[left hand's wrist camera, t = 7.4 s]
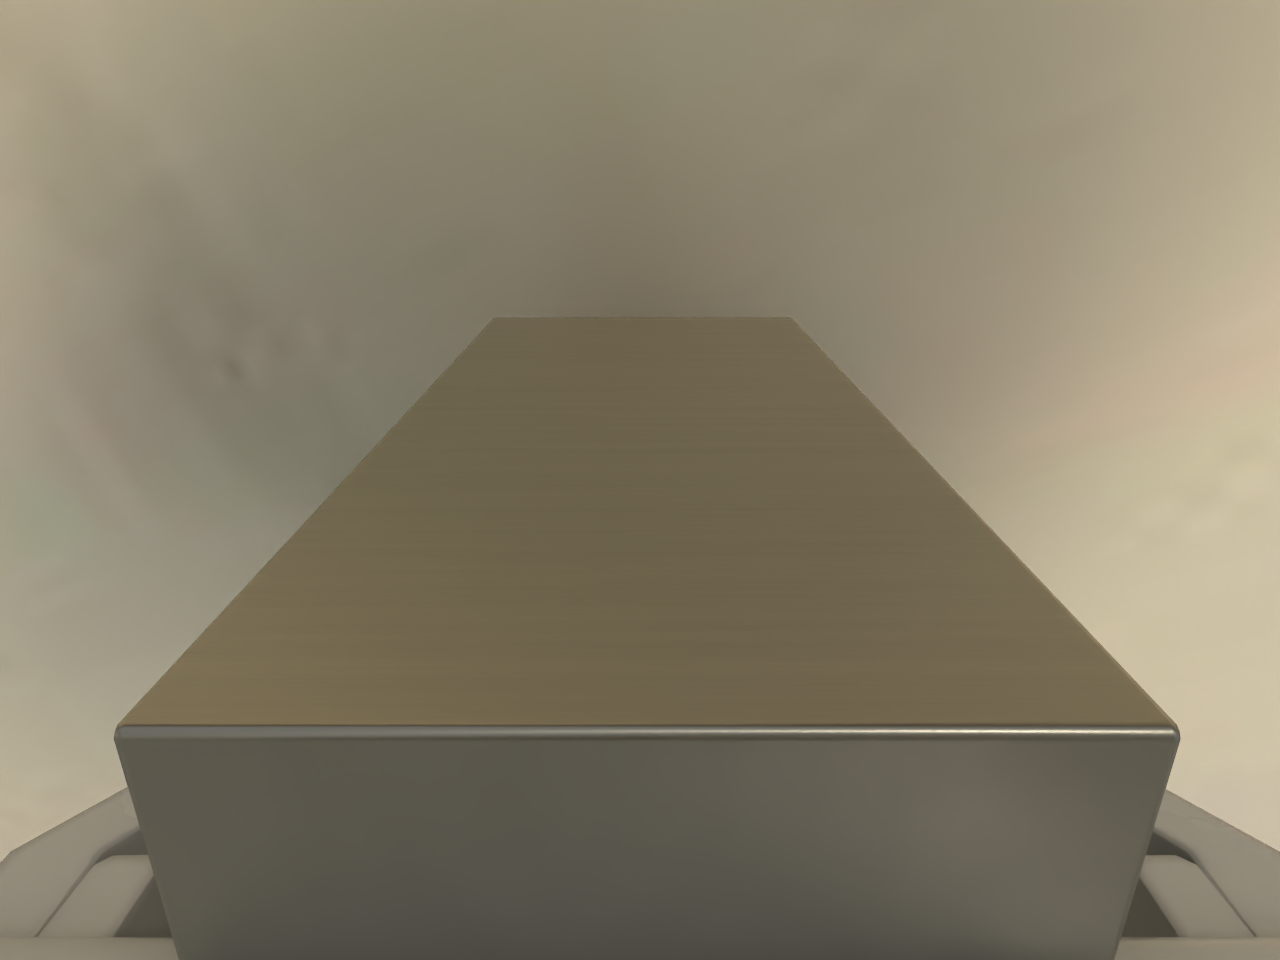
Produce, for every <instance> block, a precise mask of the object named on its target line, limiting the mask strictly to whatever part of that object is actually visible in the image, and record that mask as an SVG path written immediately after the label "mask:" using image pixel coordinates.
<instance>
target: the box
mask: <svg viewBox="0 0 1280 960" xmlns="http://www.w3.org/2000/svg"><path fill="white" fill-rule="evenodd" d="M114 741H115V744H116V748H117V751H118V754H119V758H120V761H121V765H122V768H123V771H124V775H125V778H126V782H127V785H128V788H129V792H130V795H131V799H132V802H133V805H134V809H135V812H136V816H137V819H138V822H139V826H140V829H141V833H142V836H143V839H144V843H145V846H146V850H147V853H148V856H149V860H150V863H151V867H152V870H153V873H154V877H155V880H156V884H157V887H158V890H159V894H160V897H161V901H162V904H163V907H164V911H165V914H166V918H167V921H168V924H169V928H170V931H171V935H172V938H173V941H174V945H175V948H176V952H177V955H178V958H179V960H1114V959H1115V956H1116V952H1117V949H1118V946H1119V942H1120V939H1121V936H1122V932H1123V929H1124V926H1125V922H1126V919H1127V916H1128V912H1129V909H1130V905H1131V902H1132V899H1133V895H1134V892H1135V889H1136V885H1137V882H1138V879H1139V875H1140V872H1141V869H1142V865H1143V862H1144V859H1145V855H1146V852H1147V849H1148V845H1149V842H1150V839H1151V835H1152V832H1153V829H1154V825H1155V822H1156V819H1157V815H1158V812H1159V809H1160V805H1161V802H1162V799H1163V795H1164V792H1165V789H1166V785H1167V782H1168V779H1169V775H1170V772H1171V769H1172V765H1173V762H1174V759H1175V755H1176V752H1177V749H1178V745H1179V742H1180V732H1179V729H1178V727H1177V725H1176V723H1175V722H1174V721H1173V720H1172V719H1171V718H1170V717H1169V716H1168V715H1167V714H1166V713H1165V712H1164V711H1163V710H1162V709H1161V708H1160V707H1159V706H1158V704H1157V703H1156V702H1155V701H1154V700H1153V699H1152V698H1151V697H1150V696H1149V695H1148V694H1147V693H1146V692H1145V691H1144V690H1143V689H1142V688H1141V687H1140V685H1139V684H1138V683H1137V682H1136V681H1135V680H1134V679H1133V678H1132V677H1131V676H1130V675H1129V674H1128V673H1127V672H1126V671H1125V670H1124V669H1123V668H1122V666H1121V665H1120V664H1119V663H1118V662H1117V661H1116V660H1115V659H1114V658H1113V657H1112V656H1111V655H1110V654H1109V653H1108V652H1107V651H1106V650H1105V649H1104V647H1103V646H1102V645H1101V644H1100V643H1099V642H1098V641H1097V640H1096V639H1095V638H1094V637H1093V636H1092V635H1091V634H1090V633H1089V632H1088V631H1087V630H1086V628H1085V627H1084V626H1083V625H1082V624H1081V623H1080V622H1079V621H1078V620H1077V619H1076V618H1075V617H1074V616H1073V615H1072V614H1071V613H1070V612H1069V611H1068V610H1067V608H1066V607H1065V606H1064V605H1063V604H1062V603H1061V602H1060V601H1059V600H1058V599H1057V598H1056V597H1055V596H1054V595H1053V594H1052V593H1051V592H1050V591H1049V589H1048V588H1047V587H1046V586H1045V585H1044V584H1043V583H1042V582H1041V581H1040V580H1039V579H1038V578H1037V577H1036V576H1035V575H1034V574H1033V573H1032V572H1031V570H1030V569H1029V568H1028V567H1027V566H1026V565H1025V564H1024V563H1023V562H1022V561H1021V560H1020V559H1019V558H1018V557H1017V556H1016V555H1015V554H1014V553H1013V551H1012V550H1011V549H1010V548H1009V547H1008V546H1007V545H1006V544H1005V543H1004V542H1003V541H1002V540H1001V539H1000V538H999V537H998V536H997V535H996V534H995V532H994V531H993V530H992V529H991V528H990V527H989V526H988V525H987V524H986V523H985V522H984V521H983V520H982V519H981V518H980V517H979V516H978V515H977V513H976V512H975V511H974V510H973V509H972V508H971V507H970V506H969V505H968V504H967V503H966V502H965V501H964V500H963V499H962V498H961V497H960V496H959V495H958V493H957V492H956V491H955V490H954V489H953V488H952V487H951V486H950V485H949V484H948V483H947V482H946V481H945V480H944V479H943V478H942V477H941V476H940V474H939V473H938V472H937V471H936V470H935V469H934V468H933V467H932V466H931V465H930V464H929V463H928V462H927V461H926V460H925V459H924V458H923V457H922V455H921V454H920V453H919V452H918V451H917V450H916V449H915V448H914V447H913V446H912V445H911V444H910V443H909V442H908V441H907V440H906V439H905V438H904V436H903V435H902V434H901V433H900V432H899V431H898V430H897V429H896V428H895V427H894V426H893V425H892V424H891V423H890V422H889V421H888V420H887V419H886V417H885V416H884V415H883V414H882V413H881V412H880V411H879V410H878V409H877V408H876V407H875V406H874V405H873V404H872V403H871V402H870V401H869V400H868V398H867V397H866V396H865V395H864V394H863V393H862V392H861V391H860V390H859V389H858V388H857V387H856V386H855V385H854V384H853V383H852V382H851V381H850V380H849V378H848V377H847V376H846V375H845V374H844V373H843V372H842V371H841V370H840V369H839V368H838V367H837V366H836V365H835V364H834V363H833V362H832V361H831V359H830V358H829V357H828V356H827V355H826V354H825V353H824V352H823V351H822V350H821V349H820V348H819V347H818V346H817V345H816V344H815V343H814V342H813V340H812V339H811V338H810V337H809V336H808V335H807V334H806V333H805V332H804V331H803V330H802V329H801V328H800V327H799V326H798V325H797V324H796V323H795V321H794V320H793V319H791V318H495V319H493V320H492V321H491V322H490V323H489V324H488V325H487V327H486V328H485V329H484V330H483V331H482V332H481V333H480V334H479V335H478V336H477V337H476V338H475V339H474V341H473V342H472V343H471V344H470V345H469V346H468V347H467V348H466V349H465V350H464V351H463V352H462V354H461V355H460V356H459V357H458V358H457V359H456V360H455V361H454V362H453V363H452V364H451V365H450V366H449V368H448V369H447V370H446V371H445V372H444V373H443V374H442V375H441V376H440V377H439V378H438V379H437V380H436V382H435V383H434V384H433V385H432V386H431V387H430V388H429V389H428V390H427V391H426V392H425V393H424V395H423V396H422V397H421V398H420V399H419V400H418V401H417V402H416V403H415V404H414V405H413V406H412V407H411V409H410V410H409V411H408V412H407V413H406V414H405V415H404V416H403V417H402V418H401V419H400V420H399V422H398V423H397V424H396V425H395V426H394V427H393V428H392V429H391V430H390V431H389V432H388V433H387V434H386V436H385V437H384V438H383V439H382V440H381V441H380V442H379V443H378V444H377V445H376V446H375V447H374V449H373V450H372V451H371V452H370V453H369V454H368V455H367V456H366V457H365V458H364V459H363V460H362V461H361V463H360V464H359V465H358V466H357V467H356V468H355V469H354V470H353V471H352V472H351V473H350V474H349V475H348V477H347V478H346V479H345V480H344V481H343V482H342V483H341V484H340V485H339V486H338V487H337V488H336V490H335V491H334V492H333V493H332V494H331V495H330V496H329V497H328V498H327V499H326V500H325V501H324V502H323V504H322V505H321V506H320V507H319V508H318V509H317V510H316V511H315V512H314V513H313V514H312V515H311V517H310V518H309V519H308V520H307V521H306V522H305V523H304V524H303V525H302V526H301V527H300V528H299V529H298V531H297V532H296V533H295V534H294V535H293V536H292V537H291V538H290V539H289V540H288V541H287V542H286V544H285V545H284V546H283V547H282V548H281V549H280V550H279V551H278V552H277V553H276V554H275V555H274V556H273V558H272V559H271V560H270V561H269V562H268V563H267V564H266V565H265V566H264V567H263V568H262V569H261V570H260V572H259V573H258V574H257V575H256V576H255V577H254V578H253V579H252V580H251V581H250V582H249V583H248V585H247V586H246V587H245V588H244V589H243V590H242V591H241V592H240V593H239V594H238V595H237V596H236V597H235V599H234V600H233V601H232V602H231V603H230V604H229V605H228V606H227V607H226V608H225V609H224V610H223V612H222V613H221V614H220V615H219V616H218V617H217V618H216V619H215V620H214V621H213V622H212V623H211V624H210V626H209V627H208V628H207V629H206V630H205V631H204V632H203V633H202V634H201V635H200V636H199V637H198V639H197V640H196V641H195V642H194V643H193V644H192V645H191V646H190V647H189V648H188V649H187V650H186V651H185V653H184V654H183V655H182V656H181V657H180V658H179V659H178V660H177V661H176V662H175V663H174V664H173V665H172V667H171V668H170V669H169V670H168V671H167V672H166V673H165V674H164V675H163V676H162V677H161V678H160V680H159V681H158V682H157V683H156V684H155V685H154V686H153V687H152V688H151V689H150V690H149V691H148V692H147V694H146V695H145V696H144V697H143V698H142V699H141V700H140V701H139V702H138V703H137V704H136V705H135V707H134V708H133V709H132V710H131V711H130V712H129V713H128V714H127V715H126V716H125V717H124V718H123V719H122V721H121V722H120V723H119V724H118V725H117V728H116V730H115V735H114Z"/></svg>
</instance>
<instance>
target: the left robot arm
mask: <svg viewBox="0 0 1280 960" xmlns="http://www.w3.org/2000/svg"><path fill="white" fill-rule="evenodd" d="M0 960H179V958H178V955H177V952H176V948H175V945H174V941H173V938H172V935H171V931H170V928H169V924H168V921H167V918H166V914H165V911H164V907H163V904H162V901H161V897H160V894H159V890H158V887H157V884H156V880H155V877H154V873H153V870H152V867H151V863H150V860H149V856H148V853H147V850H146V846H145V843H144V839H143V836H142V833H141V829H140V826H139V822H138V819H137V816H136V812H135V809H134V805H133V802H132V799H131V795H130V792H129V788H128V787H127V788H125V789H123V790H121V791H119V792H118V793H116V794H114V795H112V796H110V797H109V798H107V799H105V800H103V801H101V802H100V803H98V804H96V805H94V806H92V807H91V808H89V809H87V810H85V811H83V812H82V813H80V814H78V815H76V816H74V817H72V818H71V819H69V820H67V821H65V822H63V823H62V824H60V825H58V826H56V827H54V828H53V829H51V830H49V831H47V832H45V833H44V834H42V835H40V836H38V837H36V838H34V839H33V840H31V841H29V842H27V843H25V844H24V845H22V846H20V847H18V848H16V849H15V850H13V851H11V852H10V853H9V854H8V855H7V856H6V857H5V859H4V860H3V861H2V862H1V863H0ZM1114 960H1280V852H1279V851H1277V850H1275V849H1274V848H1272V847H1270V846H1268V845H1266V844H1265V843H1263V842H1261V841H1259V840H1257V839H1255V838H1254V837H1252V836H1250V835H1248V834H1246V833H1245V832H1243V831H1241V830H1239V829H1237V828H1235V827H1234V826H1232V825H1230V824H1228V823H1226V822H1224V821H1223V820H1221V819H1219V818H1217V817H1215V816H1214V815H1212V814H1210V813H1208V812H1206V811H1204V810H1203V809H1201V808H1199V807H1197V806H1195V805H1194V804H1192V803H1190V802H1188V801H1186V800H1184V799H1183V798H1181V797H1179V796H1177V795H1175V794H1174V793H1172V792H1170V791H1168V790H1166V789H1165V792H1164V795H1163V799H1162V802H1161V805H1160V809H1159V812H1158V815H1157V819H1156V822H1155V825H1154V829H1153V832H1152V835H1151V839H1150V842H1149V845H1148V849H1147V852H1146V855H1145V859H1144V862H1143V865H1142V869H1141V872H1140V875H1139V879H1138V882H1137V885H1136V889H1135V892H1134V895H1133V899H1132V902H1131V905H1130V909H1129V912H1128V916H1127V919H1126V922H1125V926H1124V929H1123V932H1122V936H1121V939H1120V942H1119V946H1118V949H1117V952H1116V956H1115V959H1114Z"/></svg>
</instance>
